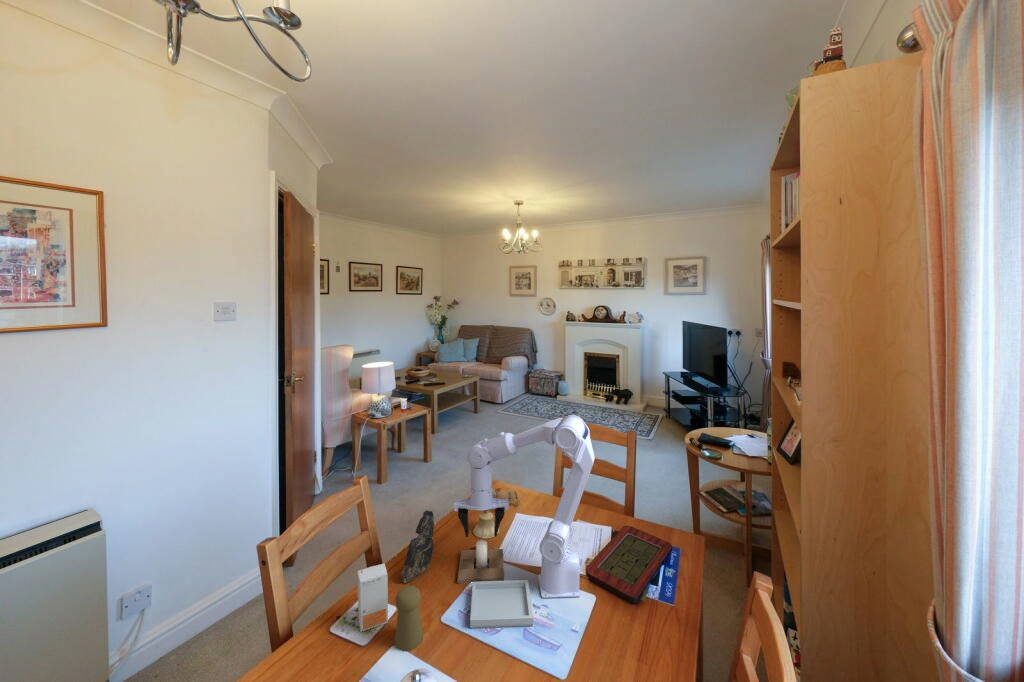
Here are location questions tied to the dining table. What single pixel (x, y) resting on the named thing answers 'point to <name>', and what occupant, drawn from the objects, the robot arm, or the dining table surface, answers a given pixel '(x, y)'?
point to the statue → (420, 549)
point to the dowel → (481, 554)
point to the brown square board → (478, 575)
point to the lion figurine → (506, 495)
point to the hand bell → (485, 526)
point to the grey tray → (501, 604)
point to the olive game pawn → (408, 619)
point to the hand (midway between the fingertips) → (481, 534)
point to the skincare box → (372, 597)
